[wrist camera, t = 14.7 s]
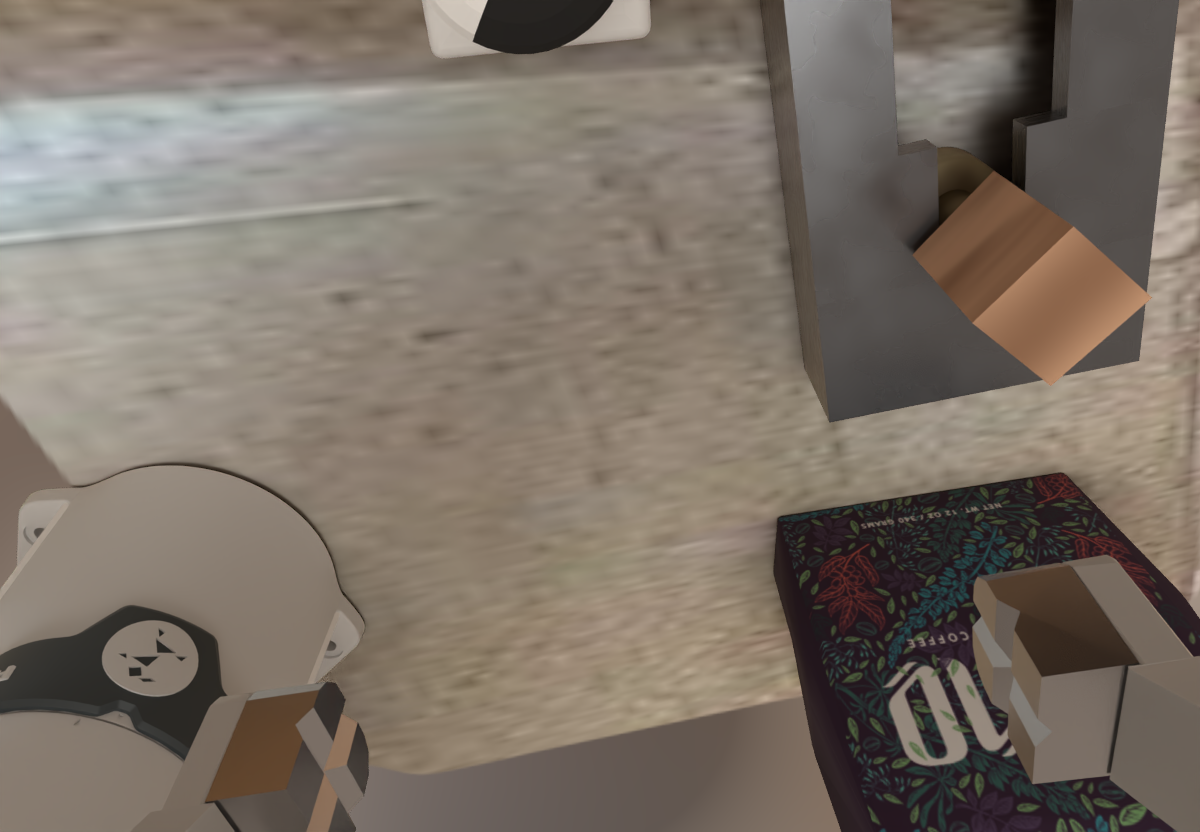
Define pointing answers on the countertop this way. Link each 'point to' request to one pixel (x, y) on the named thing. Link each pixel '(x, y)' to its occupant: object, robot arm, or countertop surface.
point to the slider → (1022, 269)
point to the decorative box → (940, 655)
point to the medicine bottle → (530, 24)
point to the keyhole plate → (910, 192)
